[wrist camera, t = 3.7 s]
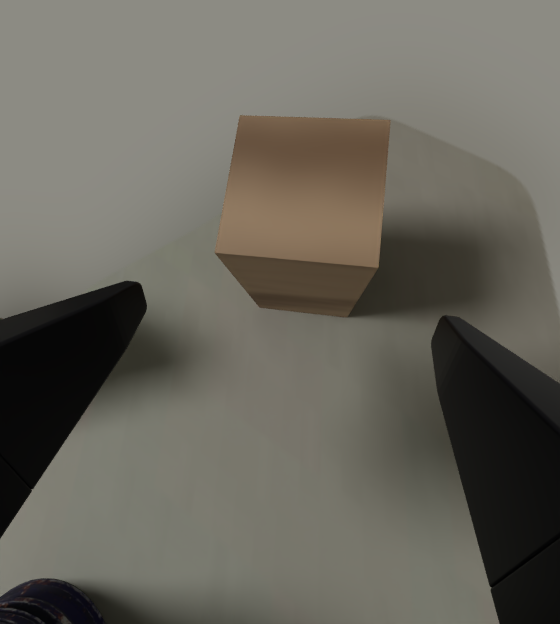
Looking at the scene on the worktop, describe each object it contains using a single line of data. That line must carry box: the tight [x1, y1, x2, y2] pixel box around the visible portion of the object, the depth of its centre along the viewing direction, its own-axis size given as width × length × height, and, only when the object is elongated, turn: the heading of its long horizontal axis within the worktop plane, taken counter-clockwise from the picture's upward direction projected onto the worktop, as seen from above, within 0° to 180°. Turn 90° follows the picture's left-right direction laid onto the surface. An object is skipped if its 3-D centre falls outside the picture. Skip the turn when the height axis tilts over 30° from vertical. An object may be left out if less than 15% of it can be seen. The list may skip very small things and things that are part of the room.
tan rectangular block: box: [215, 115, 390, 317], centre depth 16 cm, size 6×6×10 cm
